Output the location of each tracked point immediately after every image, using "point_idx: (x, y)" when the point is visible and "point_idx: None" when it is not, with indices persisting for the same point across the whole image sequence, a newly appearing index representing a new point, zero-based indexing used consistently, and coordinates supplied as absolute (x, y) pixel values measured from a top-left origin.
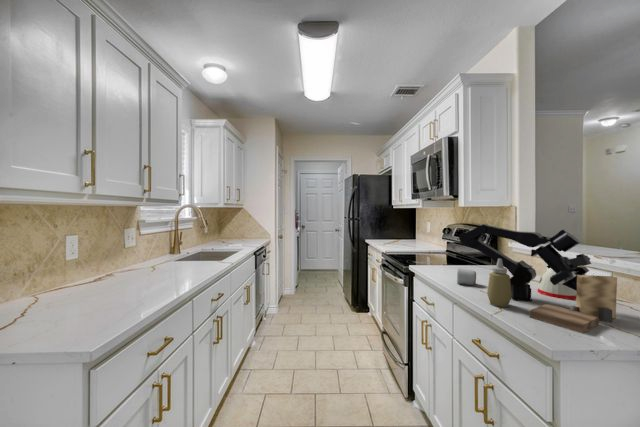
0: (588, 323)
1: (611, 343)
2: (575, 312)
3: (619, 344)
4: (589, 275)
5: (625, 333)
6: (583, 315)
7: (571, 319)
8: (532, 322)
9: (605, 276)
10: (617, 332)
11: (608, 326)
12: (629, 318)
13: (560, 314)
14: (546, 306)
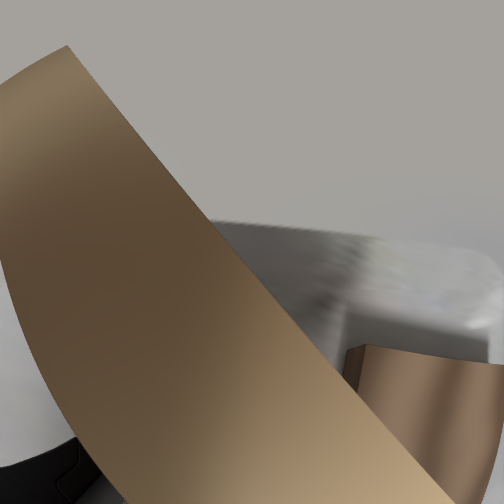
0: (474, 362)
1: (495, 296)
2: None
3: (487, 280)
4: (130, 497)
5: (378, 260)
6: (400, 405)
7: (486, 415)
8: (486, 498)
9: (26, 126)
10: (392, 283)
11: (337, 313)
12: None
13: (454, 469)
14: None
